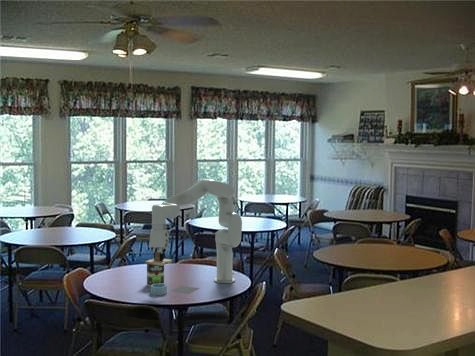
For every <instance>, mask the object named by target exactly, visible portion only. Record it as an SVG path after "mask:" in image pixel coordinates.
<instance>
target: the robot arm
mask: <svg viewBox="0 0 475 356" xmlns="http://www.w3.org/2000/svg"><path fill="white" fill-rule="evenodd" d="M234 194H235V187H234V186H233V185H232V184H230V183H226V182H223V181H219V180H215V179H210V178H209V179H208V178H203V179H200V180H199V181H197V182H195V184H193V185H191V186H190V187H189V188H187V189H185V190H183V191H182V192H179V193H177V194H174V195H172V196H170V197H168V198H167V199H166V200H164V201H163V202H162V203H159V204H153V205H152V207H151V230H150V234H149V244H148V248H149V249H150V250H152V253H153V259H154V260H155V252H156V251H158V249H159V251H160V252H161V253H160V261H161V260H164V259H165V252H166V251H168V250H169V249H170V240H169V233H168V225H167V223H166V222H167V221H166V219H167V218H176V217H178V216H179V215H180V214H181V208H180V207H181V206H186V205H191V204H194V203H196V202H197V201H199V200H200V199H201V198H203V197H204V196H206V195H212V196H215V197H216V199H217V201H218V204H219V205H218V224H219V225H220V227H224V228H221V229H219V230H217V231H216V233H215V237H214V238H215V246H216V277H214V279H213V281H214V282H215V283H217V284H232V283H235V280H236V279H235V278H234V277H233V276H234V275H235V271H233V248H237V247H238V246H239V245H240V244H241V240H242V230H243V219H242V217H241V215H240V214H238V213H236V212H234V199H233V196H234ZM225 228H227V229H225Z"/></svg>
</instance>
